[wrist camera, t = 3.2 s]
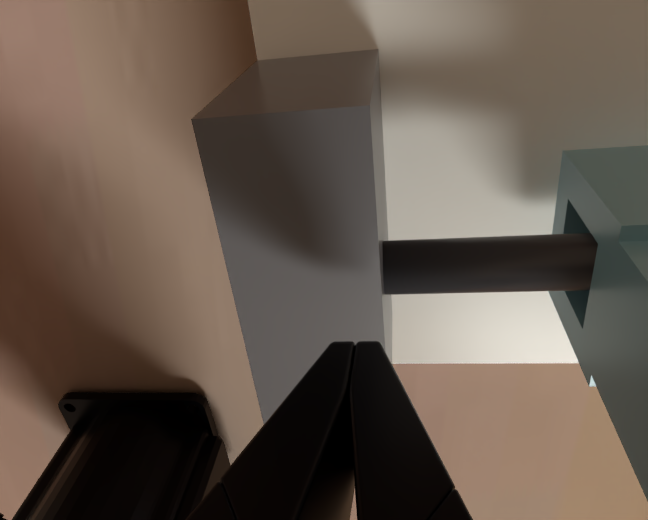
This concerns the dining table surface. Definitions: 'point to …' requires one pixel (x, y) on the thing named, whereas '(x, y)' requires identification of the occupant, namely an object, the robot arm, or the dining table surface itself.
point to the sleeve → (611, 284)
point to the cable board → (414, 174)
